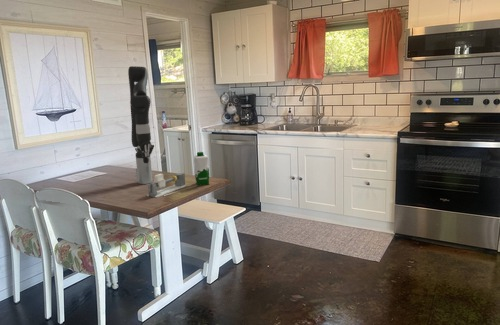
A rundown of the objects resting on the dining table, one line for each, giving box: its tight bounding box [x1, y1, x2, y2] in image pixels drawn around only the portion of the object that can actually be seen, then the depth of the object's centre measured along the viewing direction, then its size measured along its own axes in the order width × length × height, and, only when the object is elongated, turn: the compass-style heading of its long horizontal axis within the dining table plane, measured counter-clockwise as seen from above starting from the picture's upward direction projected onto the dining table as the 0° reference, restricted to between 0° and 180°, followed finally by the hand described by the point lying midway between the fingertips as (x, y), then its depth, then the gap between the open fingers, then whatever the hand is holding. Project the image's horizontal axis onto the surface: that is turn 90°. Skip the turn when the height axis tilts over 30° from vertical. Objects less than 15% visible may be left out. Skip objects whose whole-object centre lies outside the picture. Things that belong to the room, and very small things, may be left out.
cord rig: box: [146, 172, 187, 198], centre depth 235 cm, size 27×8×8 cm, turn 150°
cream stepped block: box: [152, 173, 167, 190], centre depth 229 cm, size 5×5×8 cm
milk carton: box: [193, 151, 210, 186], centre depth 247 cm, size 9×9×20 cm
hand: (146, 162), depth 219 cm, fingers closed
